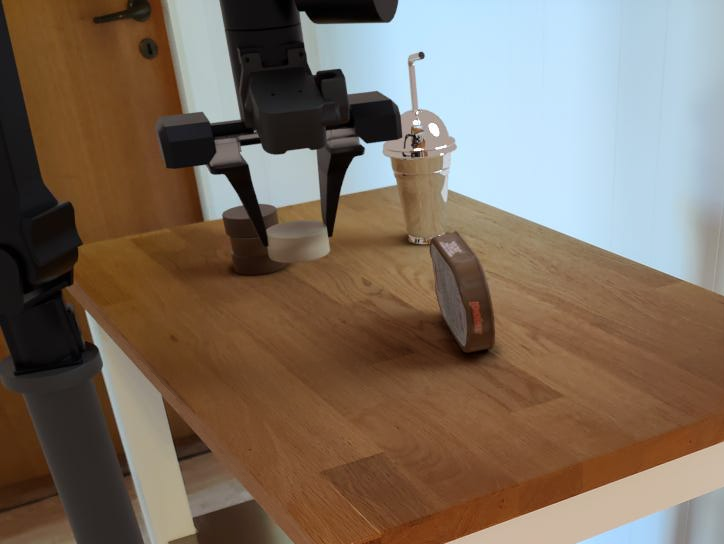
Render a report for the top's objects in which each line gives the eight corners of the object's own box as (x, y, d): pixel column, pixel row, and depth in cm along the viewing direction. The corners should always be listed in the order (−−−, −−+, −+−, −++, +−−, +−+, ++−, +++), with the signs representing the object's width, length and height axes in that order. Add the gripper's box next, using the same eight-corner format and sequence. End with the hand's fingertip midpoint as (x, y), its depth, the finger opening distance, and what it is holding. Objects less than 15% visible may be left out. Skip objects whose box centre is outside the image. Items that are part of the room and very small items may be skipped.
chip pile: (238, 279, 111) (226, 222, 107) (229, 263, 115) (218, 208, 112) (293, 269, 112) (284, 214, 108) (283, 254, 117) (273, 200, 113)
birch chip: (274, 266, 82) (270, 241, 81) (264, 249, 86) (259, 225, 85) (336, 257, 83) (332, 232, 82) (323, 240, 87) (319, 216, 86)
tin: (499, 363, 88) (495, 266, 83) (465, 368, 88) (458, 271, 82) (462, 307, 100) (455, 219, 94) (431, 311, 99) (423, 223, 94)
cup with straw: (468, 227, 121) (457, 37, 109) (454, 251, 114) (440, 51, 102) (401, 228, 122) (382, 40, 110) (382, 251, 116) (360, 54, 103)
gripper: (143, 52, 66) (196, 287, 76) (412, 24, 70) (430, 250, 80) (132, 33, 74) (181, 247, 84) (373, 9, 79) (393, 216, 88)
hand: (297, 240), depth 84 cm, fingers closed on birch chip, 5 cm apart
